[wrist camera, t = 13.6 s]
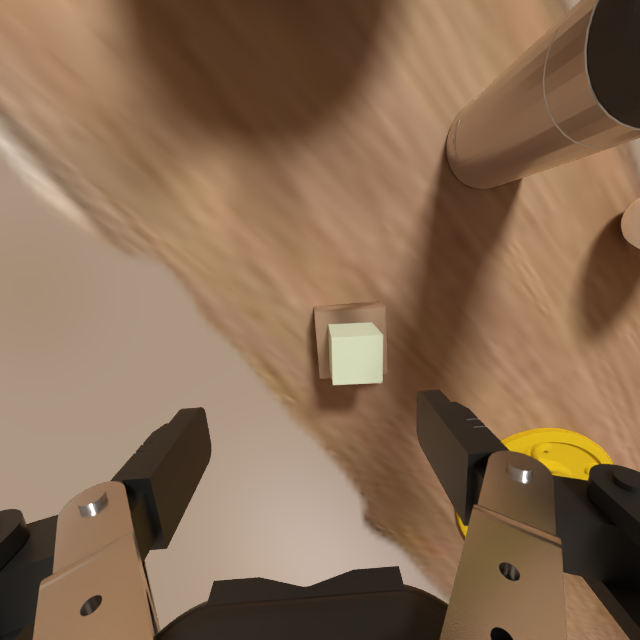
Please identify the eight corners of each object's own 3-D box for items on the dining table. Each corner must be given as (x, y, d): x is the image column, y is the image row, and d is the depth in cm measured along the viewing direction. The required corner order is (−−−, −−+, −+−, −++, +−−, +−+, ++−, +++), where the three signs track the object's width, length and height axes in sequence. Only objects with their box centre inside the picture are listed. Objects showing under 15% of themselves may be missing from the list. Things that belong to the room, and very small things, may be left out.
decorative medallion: (526, 580, 48) (535, 593, 47) (421, 508, 45) (426, 520, 43) (641, 482, 45) (656, 493, 43) (538, 395, 41) (549, 402, 39)
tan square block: (377, 300, 37) (385, 307, 33) (379, 361, 39) (387, 373, 35) (314, 306, 37) (314, 312, 33) (319, 366, 39) (319, 379, 35)
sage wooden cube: (372, 322, 33) (383, 335, 29) (372, 363, 35) (382, 382, 30) (328, 324, 33) (331, 337, 28) (329, 365, 34) (332, 385, 30)
